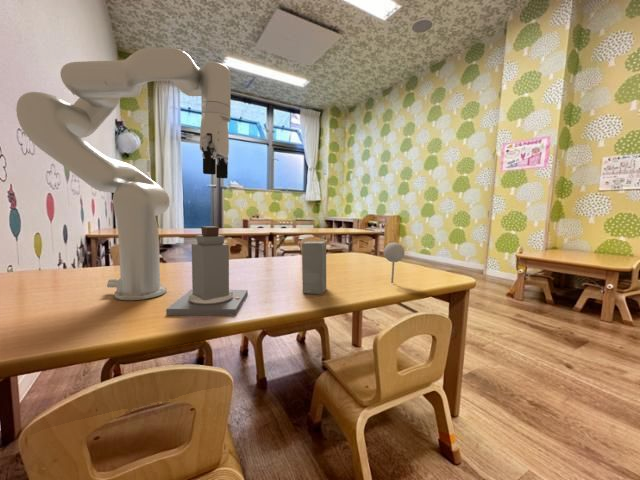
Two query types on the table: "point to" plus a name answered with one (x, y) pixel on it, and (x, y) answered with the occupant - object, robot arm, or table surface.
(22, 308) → the table surface
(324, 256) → the skincare box
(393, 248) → the lollipop
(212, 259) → the perfume bottle
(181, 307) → the mount base
